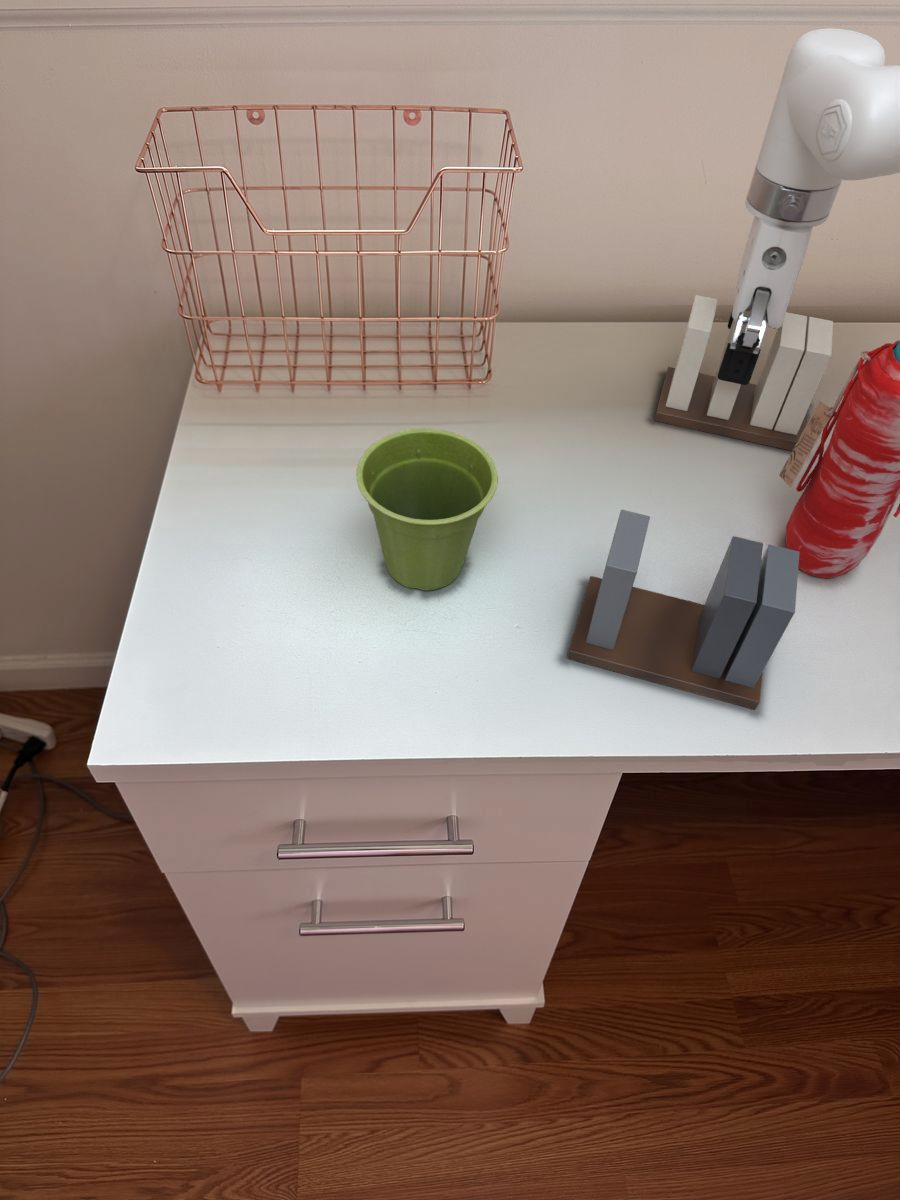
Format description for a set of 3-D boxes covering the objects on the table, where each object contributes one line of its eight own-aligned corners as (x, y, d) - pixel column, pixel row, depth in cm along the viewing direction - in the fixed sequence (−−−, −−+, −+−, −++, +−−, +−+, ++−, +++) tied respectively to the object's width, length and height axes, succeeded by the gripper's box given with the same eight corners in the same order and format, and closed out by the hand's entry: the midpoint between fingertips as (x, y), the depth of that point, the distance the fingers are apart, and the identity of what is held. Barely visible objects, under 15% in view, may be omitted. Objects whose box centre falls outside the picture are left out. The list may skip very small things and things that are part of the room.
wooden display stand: (805, 404, 98) (843, 316, 89) (801, 453, 92) (841, 364, 83) (666, 374, 100) (689, 287, 92) (654, 420, 95) (677, 331, 86)
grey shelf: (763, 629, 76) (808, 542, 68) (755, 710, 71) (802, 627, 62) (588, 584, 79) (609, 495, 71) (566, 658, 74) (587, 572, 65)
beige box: (734, 386, 97) (761, 307, 90) (728, 420, 93) (756, 340, 86) (713, 381, 98) (738, 302, 90) (706, 415, 94) (732, 335, 86)
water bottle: (730, 525, 85) (823, 295, 65) (786, 496, 88) (891, 267, 68) (825, 606, 78) (959, 377, 59) (881, 571, 81) (1026, 343, 62)
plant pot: (447, 632, 75) (451, 544, 66) (336, 577, 79) (327, 486, 70) (511, 549, 82) (523, 459, 73) (407, 502, 85) (406, 410, 77)
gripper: (831, 245, 72) (766, 410, 85) (836, 160, 82) (778, 319, 96) (740, 229, 73) (691, 394, 86) (757, 148, 84) (711, 306, 97)
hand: (737, 354), depth 91 cm, fingers open, 9 cm apart
